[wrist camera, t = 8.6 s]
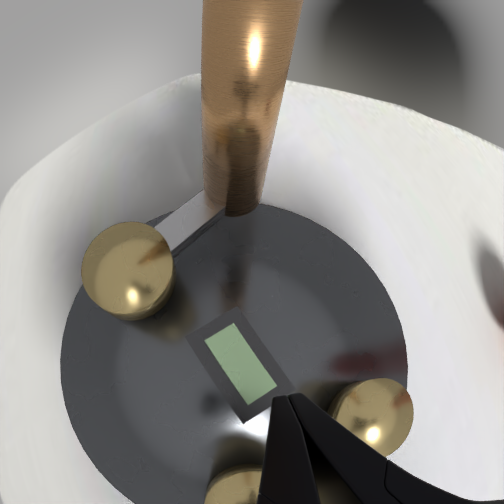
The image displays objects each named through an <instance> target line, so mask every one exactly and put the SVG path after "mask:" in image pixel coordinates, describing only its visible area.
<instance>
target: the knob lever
mask: <svg viewBox="0 0 504 504" xmlns="http://www.w3.org/2000/svg"><path fill="white" fill-rule="evenodd" d="M302 4H303V0H203V15H202V60H201V61H202V62H201V63H202V64H201V65H202V66H201V69H202V70H201V101H202V151H203V179H204V189H203V190H202V191H201V192H199V193H198V194H197V195H195V196H194V197H193V198H191V199H190V200H189V201H187V202H186V203H185V204H184V205H182V206H181V207H180V208H178V209H177V210H176V211H174V212H173V213H172V214H171V215H169V216H168V217H167V218H166V219H164V220H163V221H162V222H160V223H159V224H158V225H157V226H155V227H154V228H153V227H151V226H149V225H147V224H143V223H139V222H124V223H119V224H116V225H114V226H111V227H109V228H107V229H106V230H104V231H103V232H101V233H100V234H99V235H98V236H97V237H96V238H95V239H94V240H93V241H92V242H91V244H90V245H89V247H88V249H87V251H86V253H85V255H84V258H83V262H82V268H81V276H82V282H83V285H84V288H85V290H86V292H87V294H88V295H89V297H90V298H91V299H92V300H93V301H94V302H95V303H96V304H97V305H99V306H100V307H101V308H102V309H104V310H105V311H106V312H107V313H109V314H110V315H112V316H113V317H116V318H118V319H121V320H127V321H136V320H142V319H145V318H148V317H150V316H152V315H154V314H155V313H157V312H158V311H159V310H160V309H162V308H163V307H164V306H165V304H166V303H167V302H168V300H169V299H170V297H171V295H172V293H173V291H174V288H175V284H176V268H175V264H174V261H173V259H174V258H176V257H177V256H178V255H179V254H180V253H181V252H183V251H184V250H185V249H186V248H187V247H189V246H190V245H191V244H192V243H193V242H194V241H196V240H197V239H198V238H199V237H200V236H202V235H203V234H204V233H205V232H206V231H208V230H209V229H210V228H211V227H212V226H214V225H215V224H216V223H217V222H218V221H220V220H221V219H222V218H223V217H225V216H228V217H239V216H243V215H246V214H248V213H250V212H252V211H253V210H254V209H255V208H256V207H257V206H258V204H259V202H260V199H261V195H262V190H263V185H264V180H265V176H266V171H267V166H268V162H269V157H270V152H271V148H272V143H273V138H274V134H275V129H276V124H277V120H278V115H279V110H280V106H281V101H282V97H283V92H284V87H285V83H286V78H287V73H288V69H289V64H290V59H291V55H292V50H293V46H294V41H295V37H296V31H297V27H298V23H299V18H300V14H301V9H302Z"/></svg>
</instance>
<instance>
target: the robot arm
mask: <svg viewBox="0 0 504 504" xmlns="http://www.w3.org/2000/svg"><path fill="white" fill-rule="evenodd" d="M256 504H504V500H493V501H473V500H468V499H464V498H461V497H458V496H456V495H453V494H451V493H449V492H446V491H444V490H442V489H440V488H437V487H435V486H433V485H431V484H429V483H427V482H425V481H423V480H421V479H419V478H417V477H415V476H413V475H412V474H410V473H408V472H407V471H405V470H404V469H402V468H400V467H399V466H397V465H396V464H395V463H393V462H392V461H390V460H387V458H386V457H384V456H383V455H382V454H380V453H379V452H377V451H376V450H375V449H373V448H372V447H370V446H369V445H368V444H366V443H365V442H364V441H362V440H361V439H360V438H358V437H357V436H356V435H354V434H353V433H352V432H350V431H349V430H348V429H346V428H345V427H344V426H343V425H341V424H340V423H339V422H337V421H336V420H335V419H334V418H332V417H331V416H330V415H329V414H327V413H326V412H325V411H324V410H322V409H321V408H320V407H319V406H317V405H316V404H315V403H314V402H312V401H311V400H310V399H309V398H308V397H306V396H305V395H304V394H303V393H294V394H289V395H288V396H286V395H282V396H276V397H273V398H272V404H271V412H270V419H269V426H268V433H267V440H266V447H265V454H264V460H263V467H262V473H261V479H260V486H259V492H258V497H257V502H256Z"/></svg>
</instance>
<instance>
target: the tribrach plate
mask: <svg viewBox="0 0 504 504" xmlns="http://www.w3.org/2000/svg"><path fill="white" fill-rule="evenodd" d="M173 212H174V211H173ZM173 212H170V213H167V214H165V215H162V216H160V217H158V218H156V219H153V220H151V221H149V222H147V223H146V224H147V225H149V226H151V227H153V228H154V227H155V226H157V225H158V224H159V223H160V222H162V221H163V220H164V219H166V218H167V217H168V216H169V215H171V214H172V213H173ZM173 261H174V264H175V268H176V284H175V288H174V291H173V293H172V295H171V297H170V299H169V300H168V302H167V303H166V304H165V306H164V307H163V308H162V309H160V310H159V311H158V312H157V313H155V314H154V315H152V316H150V317H148V318H145V319H142V320H136V321H127V320H121V319H118V318H116V317H113V316H112V315H110V314H109V313H107V312H106V311H105V310H104V309H102V308H101V307H100V306H99V305H97V304H96V303H95V302H94V301H93V300H92V299H91V298H90V297H89V295H88V294H87V292H86V290H85V288H84V285H82V287H81V288H80V290H79V292H78V294H77V295H76V298H75V300H74V303H73V305H72V307H71V310H70V312H69V315H68V318H67V322H66V326H65V330H64V334H63V340H62V348H61V358H60V365H61V384H62V390H63V396H64V401H65V406H66V409H67V412H68V415H69V418H70V421H71V424H72V427H73V429H74V431H75V433H76V435H77V438H78V440H79V442H80V443H81V445H82V447H83V449H84V451H85V452H86V454H87V455H88V457H89V458H90V459H91V461H92V462H93V464H94V465H95V467H96V468H97V469H98V470H99V471H100V473H101V474H102V475H103V476H104V477H105V478H106V479H107V480H108V481H109V482H110V483H111V484H112V485H113V486H114V487H115V488H116V489H117V490H118V491H119V492H121V493H122V494H123V495H124V496H126V497H127V498H128V499H129V500H131V501H132V502H133V503H135V504H256V502H257V497H258V492H259V486H260V479H261V473H262V467H263V460H264V454H265V447H266V440H267V433H268V426H269V419H270V412H271V404H272V398H273V397H276V396H282V395H286V396H288V395H289V394H294V393H303V394H304V395H305V396H306V397H308V398H309V399H310V400H311V401H312V402H314V403H315V404H316V405H317V406H319V407H320V408H321V409H322V410H324V411H325V412H326V413H327V414H329V415H330V416H331V417H332V418H334V419H335V420H336V421H337V422H339V423H340V424H341V425H343V426H344V427H345V428H346V429H348V430H349V431H350V432H352V433H353V434H354V435H356V436H357V437H358V438H360V439H361V440H362V441H364V442H365V443H366V444H368V445H369V446H370V447H372V448H373V449H375V450H376V451H377V452H379V453H380V454H382V455H383V456H384V457H386V456H388V455H390V454H391V453H393V452H394V451H395V450H397V449H398V448H399V447H400V446H401V444H402V443H403V442H404V441H405V439H406V437H407V436H408V434H409V432H410V429H411V426H412V422H413V404H412V400H411V398H410V395H409V393H408V392H407V374H408V363H407V352H406V344H405V339H404V335H403V331H402V326H401V323H400V320H399V318H398V315H397V312H396V309H395V307H394V304H393V303H392V301H391V299H390V297H389V295H388V293H387V291H386V289H385V287H384V286H383V284H382V283H381V281H380V280H379V278H378V277H377V275H376V274H375V272H374V271H373V270H372V269H371V267H370V266H369V265H368V264H367V263H366V262H365V260H364V259H363V258H362V257H361V256H360V255H359V254H358V253H357V252H356V251H355V250H354V249H353V248H351V247H350V246H349V245H348V244H347V243H346V242H345V241H343V240H342V239H341V238H339V237H338V236H336V235H335V234H334V233H332V232H331V231H329V230H328V229H326V228H324V227H323V226H321V225H319V224H317V223H315V222H314V221H312V220H310V219H307V218H305V217H303V216H300V215H298V214H295V213H293V212H290V211H287V210H283V209H280V208H276V207H273V206H268V205H262V204H258V206H257V207H256V208H255V209H254V210H253V211H252V212H250V213H248V214H246V215H243V216H239V217H228V216H225V217H223V218H222V219H221V220H220V221H218V222H217V223H216V224H215V225H214V226H212V227H211V228H210V229H209V230H208V231H206V232H205V233H204V234H203V235H202V236H200V237H199V238H198V239H197V240H196V241H194V242H193V243H192V244H191V245H190V246H189V247H187V248H186V249H185V250H184V251H183V252H181V253H180V254H179V255H178V256H177V257H176V258H174V259H173Z"/></svg>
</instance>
